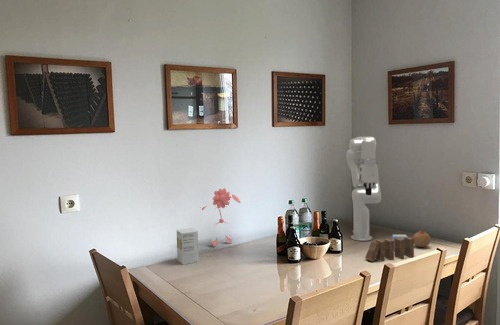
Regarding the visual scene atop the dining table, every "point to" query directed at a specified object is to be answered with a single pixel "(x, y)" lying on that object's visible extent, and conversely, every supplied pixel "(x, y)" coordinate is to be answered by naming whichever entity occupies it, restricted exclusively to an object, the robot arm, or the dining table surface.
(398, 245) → the domino
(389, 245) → the domino
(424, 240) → the onion
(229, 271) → the dining table surface
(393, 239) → the medicine box
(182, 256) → the supplement box
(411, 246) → the domino
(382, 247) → the domino
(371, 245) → the domino
